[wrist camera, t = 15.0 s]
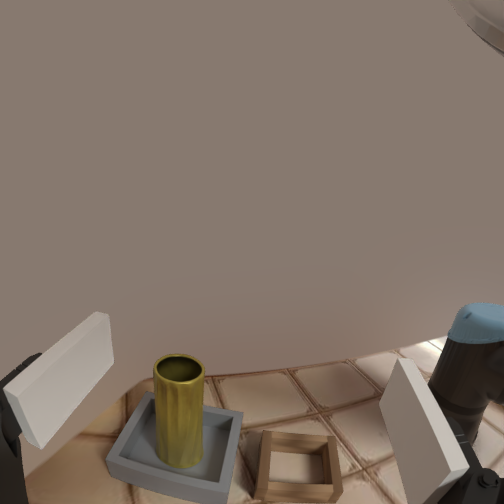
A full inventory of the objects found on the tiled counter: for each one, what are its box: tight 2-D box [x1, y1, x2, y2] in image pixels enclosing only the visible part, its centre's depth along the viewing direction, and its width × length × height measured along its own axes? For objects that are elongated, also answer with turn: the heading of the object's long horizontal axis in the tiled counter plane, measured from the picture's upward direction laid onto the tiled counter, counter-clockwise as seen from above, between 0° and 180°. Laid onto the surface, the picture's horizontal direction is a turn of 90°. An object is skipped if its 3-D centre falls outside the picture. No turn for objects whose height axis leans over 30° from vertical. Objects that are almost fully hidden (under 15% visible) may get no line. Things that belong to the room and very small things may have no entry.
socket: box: [254, 430, 343, 503], centre depth 32 cm, size 10×10×3 cm
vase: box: [153, 354, 205, 468], centre depth 31 cm, size 6×6×14 cm
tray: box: [105, 391, 243, 504], centre depth 32 cm, size 14×14×4 cm
